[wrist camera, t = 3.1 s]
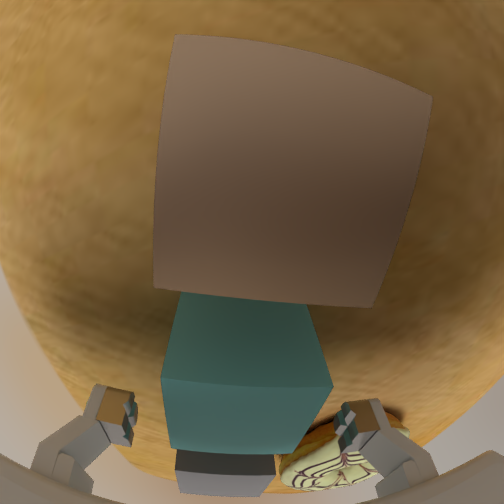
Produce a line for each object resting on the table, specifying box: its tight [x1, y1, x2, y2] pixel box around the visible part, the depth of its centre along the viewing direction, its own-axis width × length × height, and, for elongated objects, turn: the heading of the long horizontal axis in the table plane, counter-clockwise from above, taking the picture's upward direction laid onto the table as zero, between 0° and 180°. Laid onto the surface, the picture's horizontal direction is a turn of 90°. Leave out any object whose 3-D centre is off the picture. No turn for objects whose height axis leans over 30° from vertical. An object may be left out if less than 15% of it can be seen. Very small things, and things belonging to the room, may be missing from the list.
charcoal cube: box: [175, 449, 276, 497], centre depth 14 cm, size 5×5×5 cm
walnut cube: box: [153, 34, 433, 308], centre depth 7 cm, size 5×5×5 cm
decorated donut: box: [279, 412, 410, 491], centre depth 18 cm, size 10×11×4 cm
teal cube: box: [161, 291, 334, 454], centre depth 11 cm, size 5×5×5 cm
